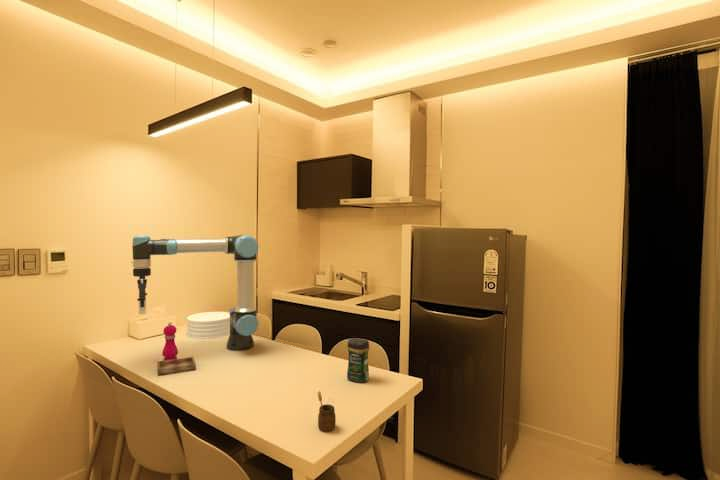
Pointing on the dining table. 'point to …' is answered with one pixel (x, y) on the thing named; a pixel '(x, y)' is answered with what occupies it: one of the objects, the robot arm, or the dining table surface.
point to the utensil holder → (326, 416)
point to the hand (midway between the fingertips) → (142, 311)
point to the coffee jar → (358, 360)
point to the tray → (176, 366)
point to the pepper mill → (170, 343)
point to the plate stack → (208, 325)
